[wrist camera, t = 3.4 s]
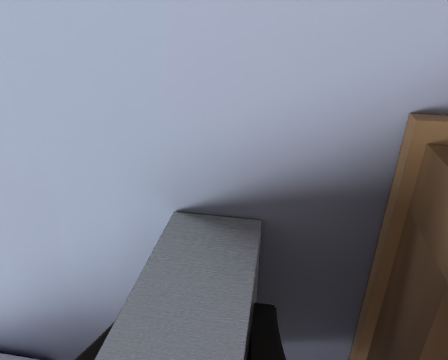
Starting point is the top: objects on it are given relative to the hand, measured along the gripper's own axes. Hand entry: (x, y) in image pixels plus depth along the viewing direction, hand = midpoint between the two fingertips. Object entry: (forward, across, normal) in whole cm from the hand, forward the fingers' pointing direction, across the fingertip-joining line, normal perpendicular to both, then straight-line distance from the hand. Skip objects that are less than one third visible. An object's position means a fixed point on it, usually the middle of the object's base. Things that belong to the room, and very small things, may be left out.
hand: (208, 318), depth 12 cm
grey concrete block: (+2, 0, 0) cm, 2 cm away
